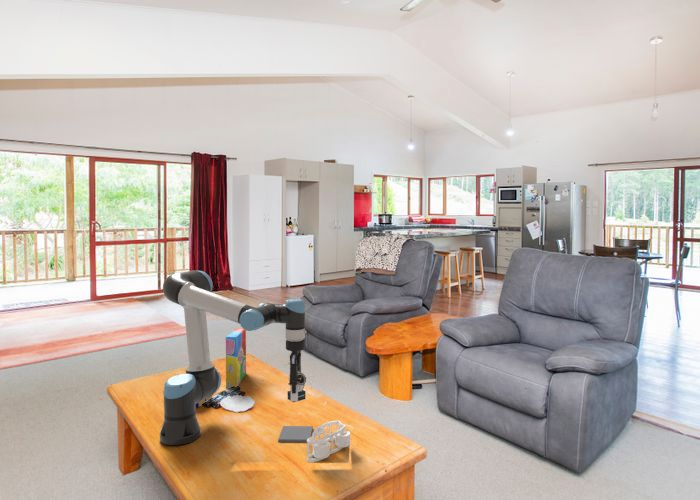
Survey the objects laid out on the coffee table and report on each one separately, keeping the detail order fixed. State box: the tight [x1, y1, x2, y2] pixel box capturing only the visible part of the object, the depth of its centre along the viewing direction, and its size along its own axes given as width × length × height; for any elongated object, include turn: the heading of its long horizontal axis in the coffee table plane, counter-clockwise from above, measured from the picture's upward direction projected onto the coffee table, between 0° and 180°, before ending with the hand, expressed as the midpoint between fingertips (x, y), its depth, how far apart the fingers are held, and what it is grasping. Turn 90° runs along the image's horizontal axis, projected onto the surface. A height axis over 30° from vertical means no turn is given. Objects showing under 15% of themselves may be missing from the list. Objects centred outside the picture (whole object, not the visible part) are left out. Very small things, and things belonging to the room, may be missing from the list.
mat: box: [277, 425, 314, 443], centre depth 180 cm, size 12×12×1 cm
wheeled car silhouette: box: [306, 420, 351, 463], centre depth 167 cm, size 20×11×7 cm, turn 139°
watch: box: [287, 371, 307, 403], centre depth 180 cm, size 6×8×11 cm
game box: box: [225, 328, 247, 389], centre depth 241 cm, size 21×6×27 cm, turn 179°
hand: (295, 397), depth 180 cm, fingers closed on watch, 8 cm apart
